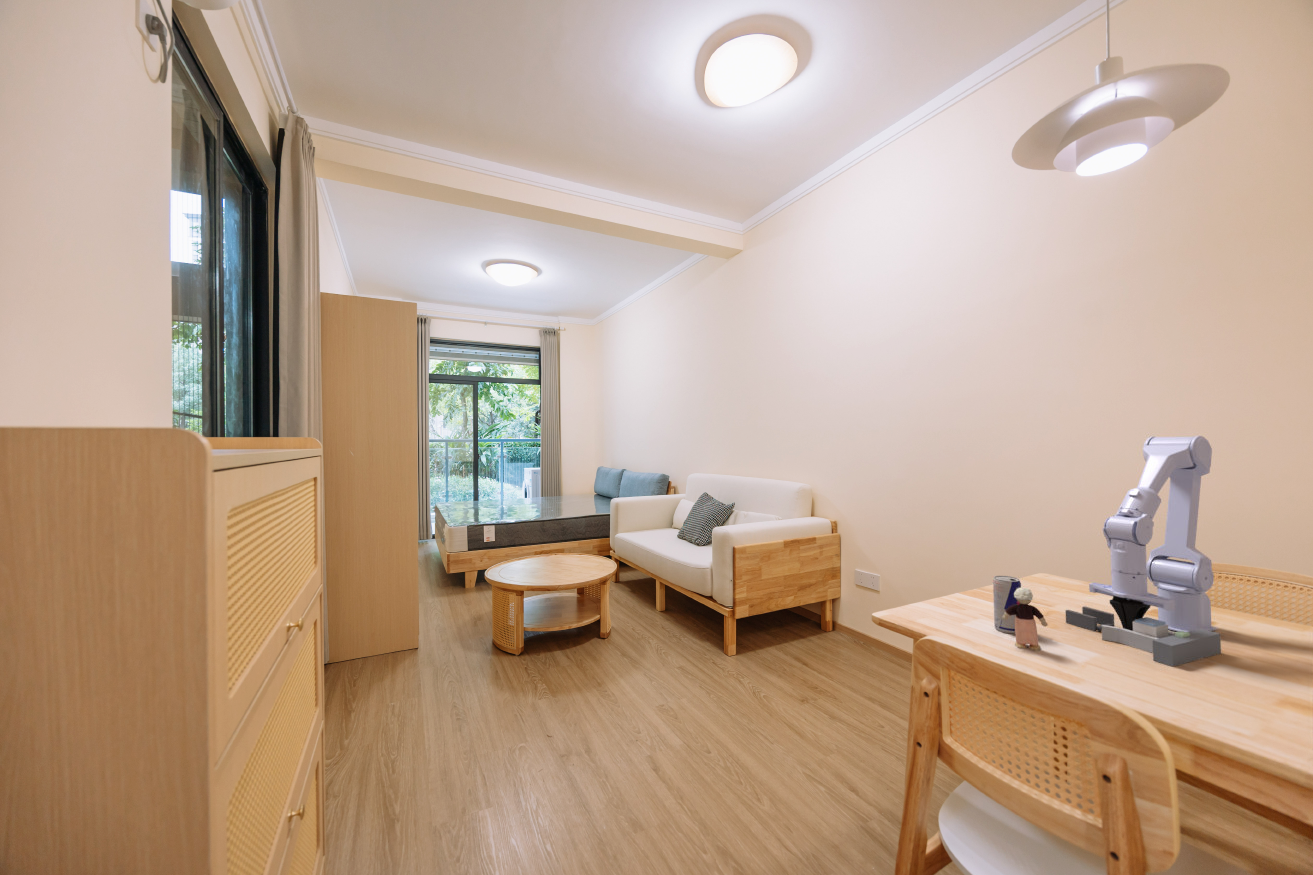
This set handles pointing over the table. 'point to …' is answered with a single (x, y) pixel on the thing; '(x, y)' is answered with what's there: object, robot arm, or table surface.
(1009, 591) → the energy drink
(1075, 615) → the gray vise
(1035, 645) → the grandmother figurine
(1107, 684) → the table surface
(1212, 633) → the grey forked block
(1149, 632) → the plug
